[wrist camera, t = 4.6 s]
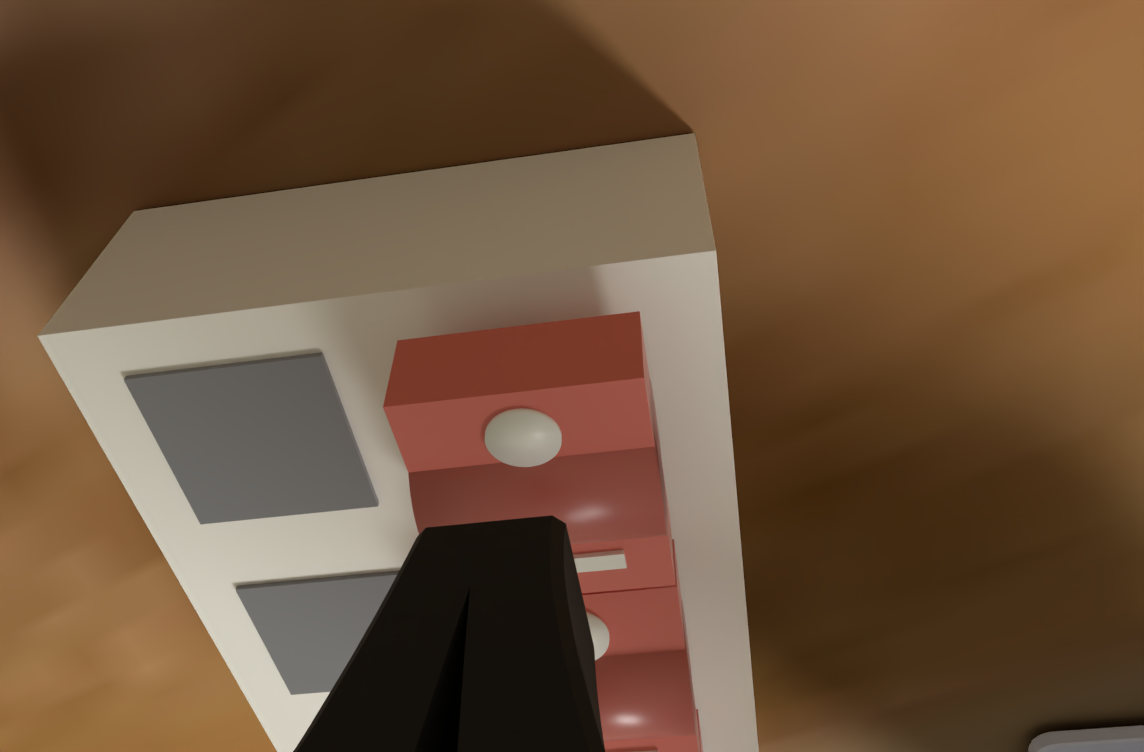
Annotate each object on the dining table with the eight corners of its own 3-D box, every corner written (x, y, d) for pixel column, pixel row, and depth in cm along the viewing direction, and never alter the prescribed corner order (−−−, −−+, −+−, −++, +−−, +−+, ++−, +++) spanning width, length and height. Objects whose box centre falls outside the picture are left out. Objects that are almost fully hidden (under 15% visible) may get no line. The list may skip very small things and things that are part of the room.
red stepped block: (697, 714, 17) (704, 808, 15) (523, 728, 18) (510, 821, 16) (673, 524, 16) (678, 604, 14) (483, 542, 16) (463, 623, 14)
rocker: (668, 496, 15) (677, 609, 13) (468, 516, 15) (456, 629, 14) (637, 291, 12) (645, 402, 11) (402, 320, 13) (378, 431, 11)
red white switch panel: (744, 667, 23) (764, 818, 20) (360, 698, 24) (328, 846, 21) (694, 133, 15) (716, 254, 12) (133, 210, 16) (34, 340, 13)
